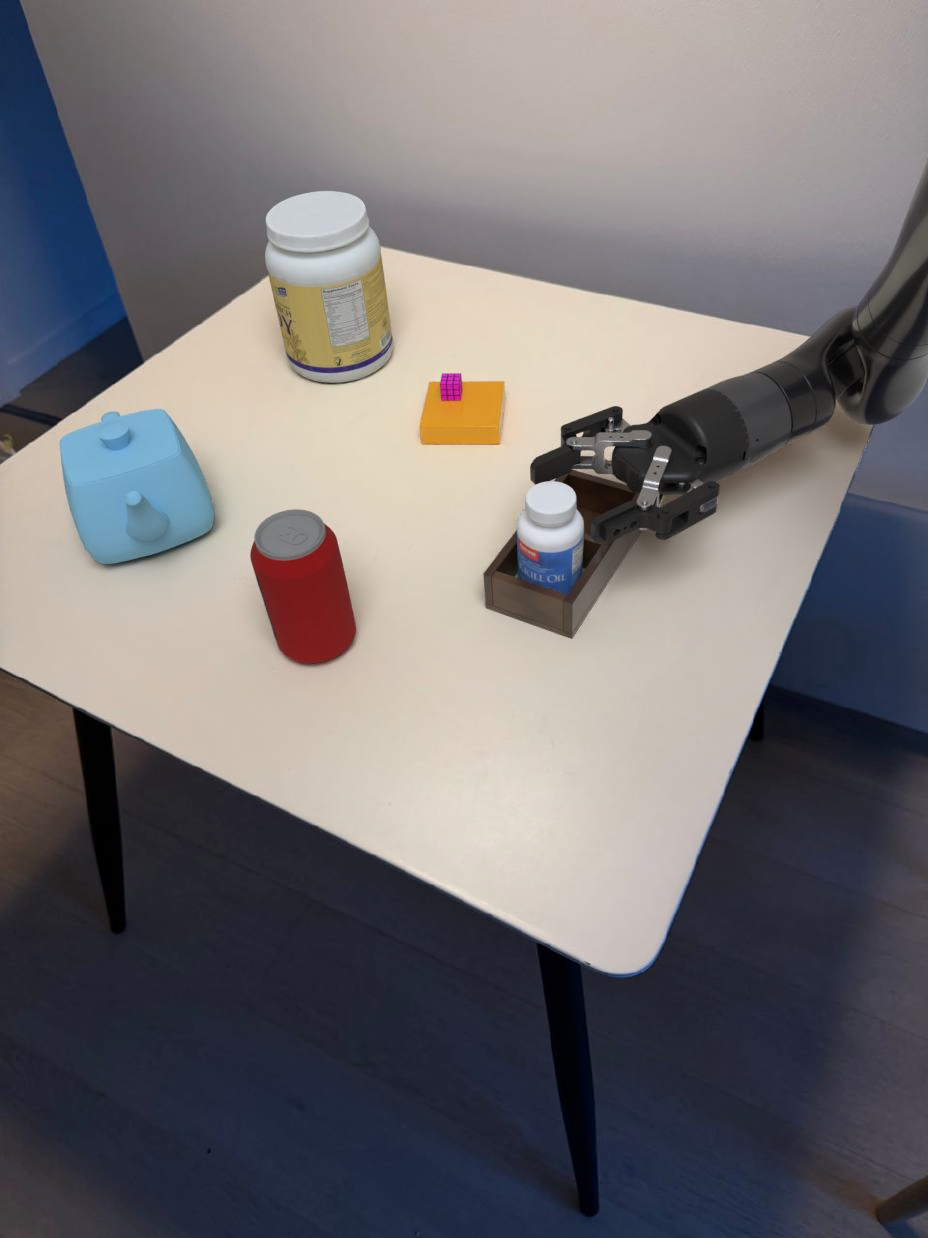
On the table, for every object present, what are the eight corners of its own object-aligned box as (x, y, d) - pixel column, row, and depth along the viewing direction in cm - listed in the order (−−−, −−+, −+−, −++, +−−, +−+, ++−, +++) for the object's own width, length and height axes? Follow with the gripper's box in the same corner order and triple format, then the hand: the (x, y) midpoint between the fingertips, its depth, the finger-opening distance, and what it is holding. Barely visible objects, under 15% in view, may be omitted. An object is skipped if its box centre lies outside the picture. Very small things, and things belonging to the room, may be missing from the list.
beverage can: (314, 599, 86) (287, 492, 78) (374, 629, 83) (352, 522, 75) (261, 648, 83) (226, 542, 74) (321, 682, 80) (292, 575, 71)
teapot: (103, 618, 86) (55, 519, 78) (75, 501, 98) (31, 403, 90) (240, 573, 89) (207, 472, 81) (197, 464, 101) (165, 366, 93)
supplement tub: (275, 347, 115) (241, 204, 103) (372, 318, 118) (350, 176, 106) (308, 400, 108) (276, 252, 95) (411, 367, 111) (392, 219, 98)
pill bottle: (509, 599, 83) (504, 511, 76) (530, 557, 87) (527, 469, 80) (571, 613, 82) (572, 524, 75) (590, 570, 85) (593, 481, 78)
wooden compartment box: (645, 525, 90) (647, 490, 87) (572, 639, 81) (572, 604, 78) (564, 501, 93) (564, 466, 90) (485, 608, 84) (482, 573, 81)
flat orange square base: (505, 398, 105) (503, 363, 102) (500, 444, 100) (498, 409, 97) (431, 399, 106) (427, 364, 103) (421, 444, 101) (417, 409, 98)
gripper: (671, 354, 85) (511, 420, 80) (788, 435, 76) (617, 515, 71) (664, 426, 91) (515, 492, 86) (773, 509, 82) (613, 588, 77)
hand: (562, 502), depth 79 cm, fingers open, 8 cm apart
